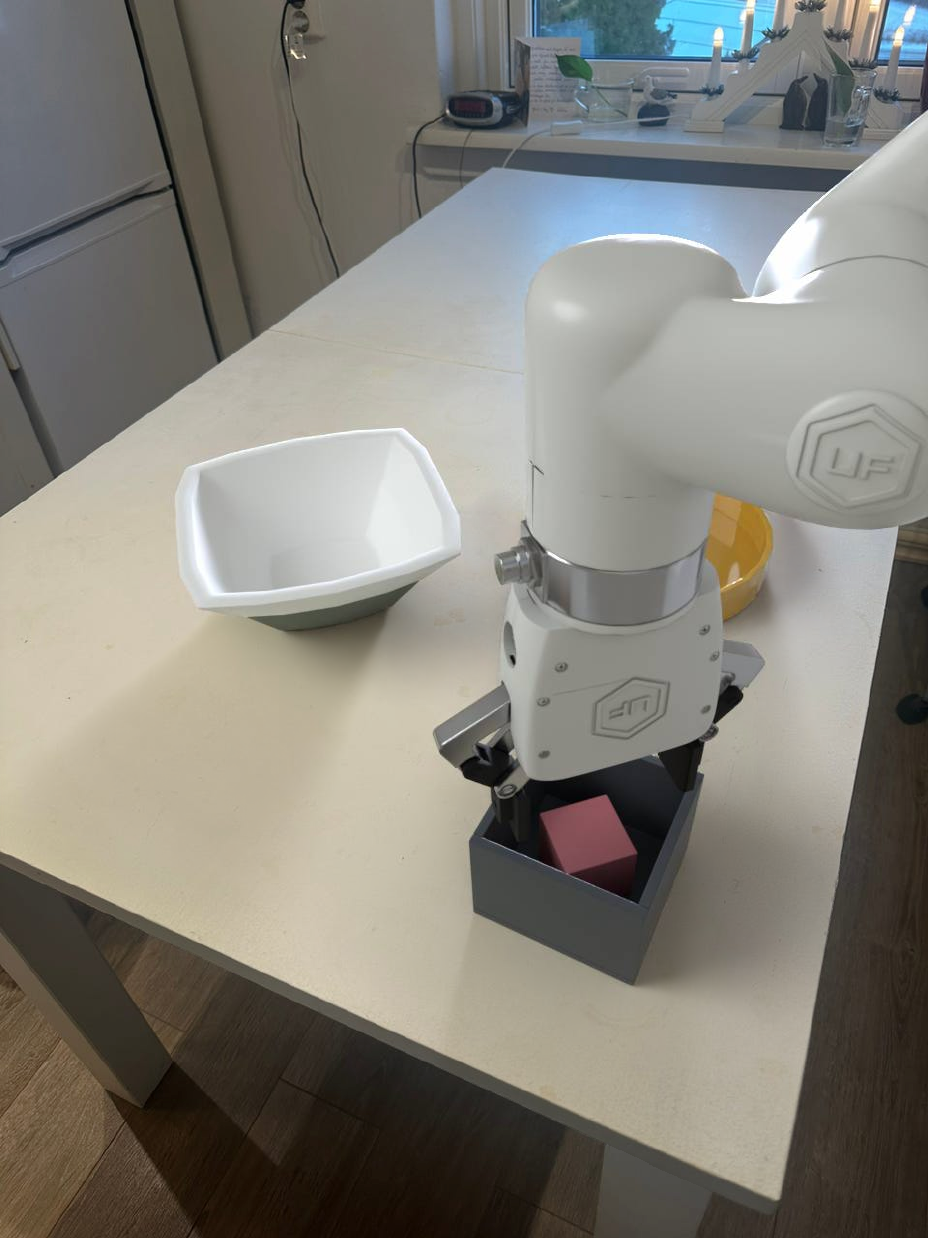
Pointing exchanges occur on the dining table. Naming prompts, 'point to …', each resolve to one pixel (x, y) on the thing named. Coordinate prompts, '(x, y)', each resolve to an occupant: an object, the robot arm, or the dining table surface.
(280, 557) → the bowl
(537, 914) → the grey bin
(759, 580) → the yellow bowl
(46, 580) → the dining table surface
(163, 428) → the dining table surface
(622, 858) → the block
